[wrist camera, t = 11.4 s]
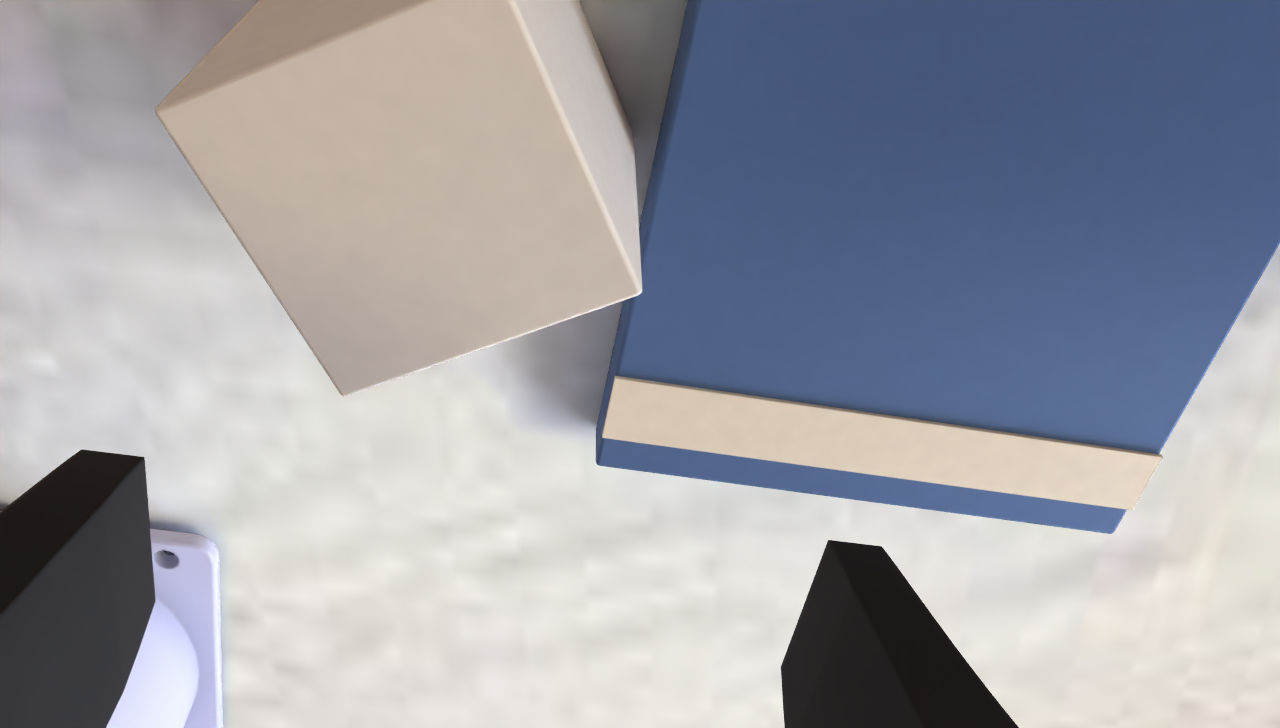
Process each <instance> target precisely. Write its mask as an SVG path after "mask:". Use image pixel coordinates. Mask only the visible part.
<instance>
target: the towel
mask: <svg viewBox="0 0 1280 728" xmlns="http://www.w3.org/2000/svg"><path fill="white" fill-rule="evenodd" d="M639 239H640V256H641V273H642V293H641V294H639V295H638V296H635V297H632V298H629V299H626V300H624V301H623V306H622V310H621V315H620V320H619V324H618V329H617V334H616V339H615V343H614V348H613V353H612V357H611V362H610V367H609V371H608V376H607V381H606V385H605V390H604V395H603V399H602V404H601V409H600V413H599V418H598V423H597V427H596V463H597V464H598V465H600V466H607V467H614V468H622V469H629V470H637V471H644V472H652V473H659V474H667V475H674V476H682V477H689V478H697V479H704V480H712V481H719V482H727V483H734V484H741V485H749V486H756V487H764V488H771V489H779V490H786V491H794V492H801V493H809V494H816V495H824V496H831V497H839V498H846V499H854V500H861V501H869V502H876V503H884V504H891V505H899V506H906V507H914V508H921V509H929V510H936V511H944V512H951V513H959V514H966V515H974V516H981V517H989V518H996V519H1003V520H1011V521H1018V522H1026V523H1033V524H1041V525H1048V526H1056V527H1063V528H1071V529H1078V530H1086V531H1093V532H1101V533H1108V534H1111V533H1113V532H1114V531H1115V530H1116V528H1117V526H1118V524H1119V523H1120V521H1121V519H1122V517H1123V516H1124V514H1125V512H1126V510H1133V508H1134V507H1135V505H1136V503H1137V501H1138V500H1139V498H1140V496H1141V495H1142V493H1143V491H1144V489H1145V488H1146V486H1147V484H1148V482H1149V481H1150V479H1151V477H1152V475H1153V474H1154V472H1155V470H1156V469H1157V467H1158V465H1159V463H1160V462H1161V460H1162V458H1163V457H1162V455H1160V454H1159V453H1160V451H1161V449H1162V448H1163V446H1164V444H1165V442H1166V441H1167V439H1168V437H1169V435H1170V434H1171V432H1172V430H1173V428H1174V427H1175V425H1176V423H1177V421H1178V420H1179V418H1180V416H1181V415H1182V413H1183V411H1184V409H1185V408H1186V406H1187V404H1188V402H1189V401H1190V399H1191V397H1192V395H1193V394H1194V392H1195V390H1196V388H1197V387H1198V385H1199V383H1200V381H1201V380H1202V378H1203V376H1204V374H1205V373H1206V371H1207V369H1208V367H1209V366H1210V364H1211V362H1212V360H1213V359H1214V357H1215V355H1216V354H1217V352H1218V350H1219V348H1220V347H1221V345H1222V343H1223V341H1224V340H1225V338H1226V336H1227V334H1228V333H1229V331H1230V329H1231V327H1232V326H1233V324H1234V322H1235V320H1236V319H1237V317H1238V315H1239V313H1240V312H1241V310H1242V308H1243V306H1244V305H1245V303H1246V301H1247V299H1248V298H1249V296H1250V294H1251V292H1252V291H1253V289H1254V287H1255V286H1256V284H1257V282H1258V280H1259V279H1260V277H1261V275H1262V273H1263V272H1264V270H1265V268H1266V266H1267V265H1268V263H1269V261H1270V259H1271V258H1272V256H1273V254H1274V252H1275V251H1276V249H1277V247H1278V245H1279V244H1280V0H688V2H687V6H686V11H685V16H684V20H683V25H682V30H681V34H680V39H679V44H678V48H677V53H676V58H675V62H674V67H673V72H672V77H671V81H670V86H669V91H668V95H667V100H666V105H665V109H664V114H663V119H662V123H661V128H660V133H659V137H658V142H657V147H656V151H655V156H654V161H653V165H652V170H651V175H650V179H649V184H648V189H647V193H646V198H645V203H644V208H643V212H642V217H641V222H640V226H639Z"/></svg>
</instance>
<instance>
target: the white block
mask: <svg viewBox="0 0 1280 728" xmlns="http://www.w3.org/2000/svg"><path fill="white" fill-rule="evenodd" d="M155 112H156V115H157V117H158V118H159V120H160V121H161V123H162V124H163V126H164V127H165V129H166V130H167V132H168V134H169V135H170V137H171V138H172V140H173V141H174V143H175V144H176V146H177V147H178V149H179V150H180V152H181V153H182V155H183V156H184V158H185V159H186V161H187V162H188V164H189V165H190V167H191V168H192V170H193V171H194V173H195V174H196V176H197V177H198V179H199V180H200V182H201V183H202V185H203V187H204V188H205V190H206V191H207V193H208V194H209V196H210V197H211V199H212V200H213V202H214V203H215V205H216V206H217V208H218V209H219V211H220V212H221V214H222V215H223V217H224V218H225V220H226V221H227V223H228V224H229V226H230V227H231V229H232V230H233V232H234V233H235V235H236V236H237V238H238V240H239V241H240V243H241V244H242V246H243V247H244V249H245V250H246V252H247V253H248V255H249V256H250V258H251V259H252V261H253V262H254V264H255V265H256V267H257V268H258V270H259V271H260V273H261V274H262V276H263V277H264V279H265V280H266V282H267V283H268V285H269V286H270V288H271V289H272V291H273V293H274V294H275V296H276V297H277V299H278V300H279V302H280V303H281V305H282V306H283V308H284V309H285V311H286V312H287V314H288V315H289V317H290V318H291V320H292V321H293V323H294V324H295V326H296V327H297V329H298V330H299V332H300V333H301V335H302V336H303V338H304V339H305V341H306V342H307V344H308V346H309V347H310V349H311V350H312V352H313V353H314V355H315V356H316V358H317V359H318V361H319V362H320V364H321V365H322V367H323V368H324V370H325V371H326V373H327V374H328V376H329V377H330V379H331V380H332V382H333V383H334V385H335V386H336V388H337V389H338V391H339V392H340V394H341V395H342V396H349V395H352V394H355V393H358V392H361V391H363V390H366V389H369V388H372V387H375V386H378V385H381V384H384V383H387V382H389V381H392V380H395V379H398V378H401V377H404V376H407V375H410V374H413V373H415V372H418V371H421V370H424V369H427V368H430V367H433V366H436V365H439V364H441V363H444V362H447V361H450V360H453V359H456V358H459V357H462V356H464V355H467V354H470V353H473V352H476V351H479V350H482V349H485V348H488V347H490V346H493V345H496V344H499V343H502V342H505V341H508V340H511V339H514V338H516V337H519V336H522V335H525V334H528V333H531V332H534V331H537V330H540V329H542V328H545V327H548V326H551V325H554V324H557V323H560V322H563V321H566V320H568V319H571V318H574V317H577V316H580V315H583V314H586V313H589V312H592V311H594V310H597V309H600V308H603V307H606V306H609V305H612V304H615V303H618V302H620V301H623V300H626V299H629V298H632V297H635V296H638V295H639V294H641V293H642V273H641V256H640V239H639V221H638V204H637V186H636V169H635V151H634V135H633V132H632V130H631V127H630V125H629V123H628V120H627V118H626V115H625V113H624V110H623V108H622V105H621V103H620V100H619V98H618V96H617V93H616V91H615V88H614V86H613V83H612V81H611V78H610V76H609V74H608V71H607V69H606V66H605V64H604V61H603V59H602V56H601V54H600V52H599V49H598V47H597V44H596V42H595V39H594V37H593V34H592V32H591V29H590V27H589V25H588V22H587V20H586V17H585V15H584V12H583V10H582V7H581V5H580V3H579V0H259V1H258V2H257V3H256V4H255V5H254V6H253V8H252V9H251V10H250V11H249V12H248V13H247V14H246V15H245V16H244V17H243V18H242V19H241V20H240V21H239V22H238V23H237V24H236V25H235V26H234V27H233V28H232V29H231V30H230V31H229V32H228V33H227V34H226V36H225V37H224V38H223V39H222V40H221V41H220V42H219V43H218V44H217V45H216V46H215V47H214V48H213V49H212V50H211V51H210V52H209V53H208V54H207V55H206V56H205V57H204V58H203V59H202V60H201V61H200V62H199V63H198V65H197V66H196V67H195V68H194V69H193V70H192V71H191V72H190V73H189V74H188V75H187V76H186V77H185V78H184V79H183V80H182V81H181V82H180V83H179V84H178V85H177V86H176V87H175V88H174V89H173V90H172V91H171V93H170V94H169V95H168V96H167V97H166V98H165V99H164V100H163V101H162V102H161V103H160V104H159V105H158V106H157V107H156V108H155Z"/></svg>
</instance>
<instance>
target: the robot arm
mask: <svg viewBox="0 0 1280 728" xmlns="http://www.w3.org/2000/svg"><path fill="white" fill-rule="evenodd" d="M162 550H166V551H169V552H172V553H174V554H175V555H174V556H172V555H169V554H166V553H165V552H163V551H162ZM781 675H782V692H783V709H784V722H785V728H1019V727H1018V726H1017V725H1016V724H1015V722H1014V721H1013V720H1012V719H1011V718H1010V716H1009V715H1008V714H1007V713H1006V712H1005V710H1004V709H1003V708H1002V707H1001V705H1000V704H999V703H998V701H997V700H996V699H995V698H994V696H993V695H992V694H991V693H990V691H989V690H988V689H987V688H986V686H985V685H984V684H983V682H982V681H981V680H980V678H979V677H978V676H977V675H976V673H975V672H974V671H973V669H972V668H971V667H970V666H969V664H968V663H967V662H966V660H965V659H964V658H963V656H962V655H961V654H960V652H959V651H958V650H957V648H956V647H955V646H954V644H953V643H952V642H951V640H950V639H949V638H948V636H947V635H946V633H945V632H944V631H943V629H942V628H941V627H940V625H939V624H938V623H937V621H936V620H935V619H934V617H933V616H932V614H931V613H930V612H929V610H928V609H927V608H926V606H925V605H924V603H923V602H922V601H921V599H920V598H919V597H918V595H917V594H916V592H915V591H914V590H913V588H912V587H911V586H910V584H909V583H908V581H907V580H906V579H905V577H904V576H903V574H902V573H901V572H900V570H899V569H898V568H897V566H896V565H895V564H894V562H893V561H892V560H891V558H890V557H889V556H888V554H887V553H886V552H885V550H884V549H883V548H882V547H881V546H873V545H865V544H856V543H848V542H840V541H832V540H828V542H827V545H826V548H825V550H824V553H823V556H822V559H821V561H820V564H819V567H818V569H817V572H816V575H815V577H814V580H813V583H812V585H811V588H810V591H809V593H808V596H807V599H806V601H805V604H804V607H803V609H802V612H801V615H800V617H799V620H798V623H797V625H796V628H795V631H794V633H793V636H792V639H791V641H790V644H789V647H788V650H787V652H786V655H785V658H784V660H783V663H782V666H781ZM0 728H223V700H222V657H221V614H220V571H219V552H218V548H217V546H216V545H215V544H214V543H213V542H212V541H211V540H209V539H208V538H206V537H204V536H201V535H197V534H191V533H183V532H175V531H166V530H158V529H150V523H149V510H148V498H147V485H146V472H145V460H144V457H138V456H130V455H122V454H114V453H105V452H97V451H89V450H80V451H79V452H78V453H76V454H75V455H73V456H72V457H70V458H69V459H68V460H66V461H65V462H64V463H63V464H61V465H60V466H59V467H57V468H56V469H55V470H53V471H52V472H51V473H49V474H48V475H47V476H46V477H44V478H43V479H42V480H40V481H39V482H38V483H37V484H35V485H34V486H33V487H32V488H30V489H29V490H28V491H26V492H25V493H24V494H23V495H21V496H20V497H19V498H18V499H16V500H15V501H14V502H12V503H11V504H10V505H9V506H7V507H6V508H5V509H3V510H2V511H0Z"/></svg>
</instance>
